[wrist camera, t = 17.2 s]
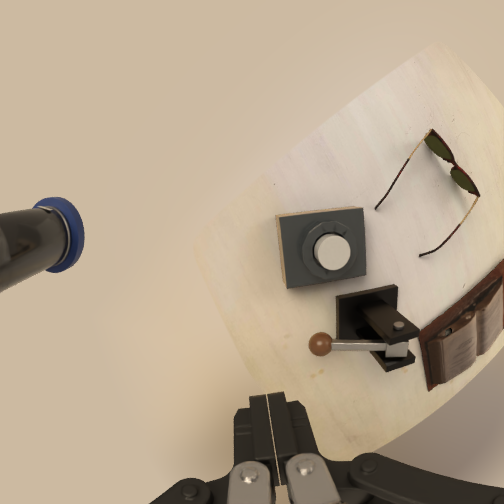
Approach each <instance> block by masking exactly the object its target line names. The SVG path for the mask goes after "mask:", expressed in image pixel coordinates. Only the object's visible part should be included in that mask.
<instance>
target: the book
mask: <svg viewBox="0 0 504 504" xmlns="http://www.w3.org/2000/svg"><path fill="white" fill-rule="evenodd" d="M449 328H451V329H452V333H451V334H450V335H448V336H445V330H447V329H449ZM503 329H504V259H503V260H502V262H500V263H499V264H498V265H497V267H495V269H494V270H492V271H491V272H490V273H489V274H488V275H487V276H486V277H485V278H484V279H483V280H482V281H481V282H480V283H479V284H477V285H476V286H475V287H474V288H473V289H472V290H471V291H470V292H468V293H467V294H466V295H465V296H464V297H463V298H461V300H459V301H458V302H457V303H455V304H454V305H453V306H452V307H451V308H449V309H448V310H447V311H446V312H444V314H442V315H441V316H439V317H438V318H436V319H435V320H434V321H433V322H432V323H431V324H430V325H428V326H426V327H425V328H424V329H423V330H421V331H420V333H419V341H420V345H421V350H422V349H423V350H422V354H423V355H422V356H423V362H424V367H425V374H426V380H427V387H428V392H429V391H430V390H432V389H433V388H434V387H435V386H437V385H438V384H443V383H446V382H448V381H449V380H451V379H452V378H454V377H455V376H457V375H459V374H460V373H462V372H463V371H465V370H466V369H468V368H469V367H471V366H472V364H473V363H474V362H475V361H476V356H479V355H483V354H484V353H485V352H487V351H488V350H489V348H490V347H491V346H492V344H493V343H494V341H495V340H496V338H497V337H498V335H499V334H500V332H501V331H502V330H503ZM441 336H444V337H441Z"/></svg>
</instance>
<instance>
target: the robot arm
mask: <svg viewBox="0 0 504 504" xmlns="http://www.w3.org/2000/svg"><path fill="white" fill-rule="evenodd" d="M37 207H40V208H33V209H27V210H20V211H14V212H8V213H2V214H0V293H1V292H2V291H4V290H6V289H8V288H10V287H12V286H14V285H16V284H18V283H20V282H22V281H23V280H26V279H28V278H29V277H32V276H34V275H36V274H38V273H40V272H42V271H44V270H46V269H48V268H50V267H52V266H56V265H58V264H60V263H62V262H63V261H64V260H65V259H66V258H67V256H68V254H69V252H70V249H71V243H72V234H71V228H70V225H69V222H68V220H67V218H66V216H65V215H64V214H63V212H62V211H61V210H59V209H58V208H56V207H54V206H44V207H43V206H37ZM267 396H268V402H269V410H270V417H271V423H272V429H273V436H274V442H275V449H276V455H277V461H278V467H279V474H280V480H281V485H287V490H288V497H289V502H290V504H504V488H500V487H494V486H487V485H482V484H477V483H472V482H467V481H463V480H458V479H454V478H450V477H446V476H443V475H439V474H435V473H432V472H429V471H425V470H422V469H419V468H416V467H413V466H410V465H407V464H404V463H401V462H398V461H396V460H393V459H390V458H388V457H384V456H382V455H380V454H377V453H364V454H361V455H359V456H357V457H355V458H354V459H353V460H352V461H331V460H328V459H326V458H324V457H323V456H322V455H321V454H320V453H319V451H318V448H317V445H316V442H315V438H314V435H313V432H312V429H311V425H310V422H309V419H308V416H307V413H306V409H305V407H304V406H303V405H302V404H301V403H300V402H299V401H298V400H297V401H292V402H286V398H285V394H284V391H283V392H277V393H271V394H267ZM249 401H250V408H243V409H238V411H237V413H236V415H235V416H234V465H233V468H232V470H231V471H230V472H229V473H228V474H227V475H226V476H224V477H222V478H220V479H217V480H213V481H210V482H206V483H205V482H204V481H202V480H200V479H196V478H187V479H183V480H180V481H179V482H177V483H176V484H174V485H173V486H172V487H171V488H169V489H168V490H167V491H166V492H164V493H163V494H162V495H160V496H159V497H158V498H156V499H155V500H154V501H152V502H151V503H150V504H275V501H276V493H275V486H279V478H278V472H277V466H276V459H275V452H274V446H273V439H272V434H271V426H270V419H269V413H268V407H267V399H266V394H264V395H257V396H250V397H249Z"/></svg>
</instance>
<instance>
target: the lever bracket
mask: <svg viewBox="0 0 504 504" xmlns="http://www.w3.org/2000/svg"><path fill="white" fill-rule="evenodd" d="M397 297H398V286H396V285H395V284H393V285H388V286H383V287H379V288H374V289H369V290H364V291H359V292H354V293H349V294H344V295H339V296H336V339H338V340H385V342H386V343H387V344H388V345H389V346H391V345H394V344H397V343H400V342H404V341H407V340H410V339H413V338H416V337H419V333H420V329H419V328H417V327H416V326H415V325H414V324H413V323H411V322H410V321H409V320H408V319H406V318H405V317H404V316H403V315H401V314H400V313H399V312H398V311H397ZM370 353H371V354H372V355H373V356H374V358H375V359H376V360H377V362H378V363H379V364H380V365H381V367H382V368H383V369H384V370H385V372H389V371H392V370H395V369H398V368H401V367H404V366H407V365H409V364H412V363H415V357H416V356H415V355H414V354H413V353H412V352H411V351H410V350H408V351H407V357H386V353H385V351H370Z"/></svg>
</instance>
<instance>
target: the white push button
mask: <svg viewBox="0 0 504 504" xmlns="http://www.w3.org/2000/svg"><path fill="white" fill-rule="evenodd" d="M314 255H315V258H316V260H317V261H318V262H319V263H320V264H321V265H322V266H323V267H324V268H326V269H329V270H337V269H340V268H342V267H343V266H344V265H345V264H346V263H347V262H348V260H349V257H350V246H349V244H348V242H347V241H346V240H345V239H344V238H342V237H340V236H338V235H335V234H326V235H324V236H322V237H321V238H320V239H319V240H318V241H317V242H316V245H315V248H314Z"/></svg>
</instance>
